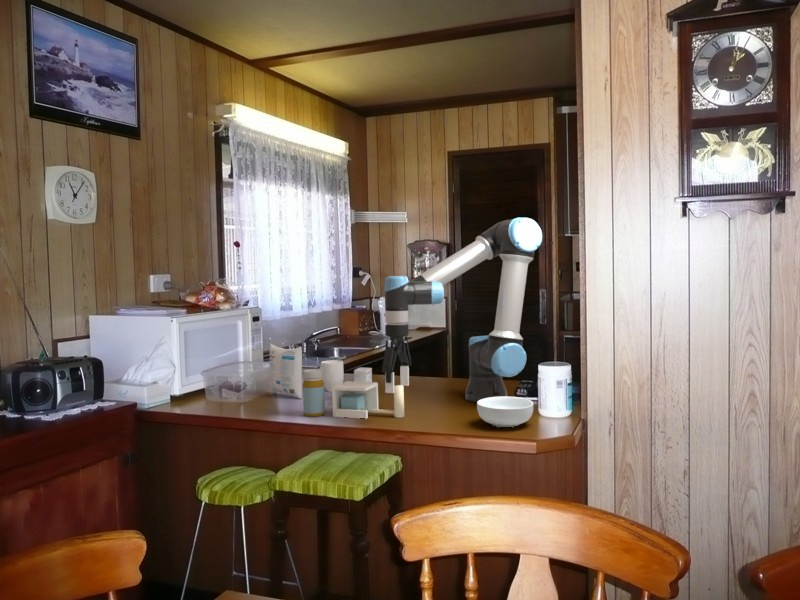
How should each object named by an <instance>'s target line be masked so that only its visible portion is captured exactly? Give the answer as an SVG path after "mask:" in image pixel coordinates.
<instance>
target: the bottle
mask: <svg viewBox="0 0 800 600" xmlns="http://www.w3.org/2000/svg"><path fill="white" fill-rule="evenodd" d="M302 400H303V402H302V403H303V404H302V405H303V406H302V407H303V415H304V416H305V417H307V418H317V417H322V416H324V414H325V411H326V409H325V407H326V406H325V404H326V403H325V385H324V383H323V380H322V370H321V369H319V368H311V369H305V370H303V381H302Z"/></svg>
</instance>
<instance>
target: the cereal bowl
mask: <svg viewBox="0 0 800 600" xmlns="http://www.w3.org/2000/svg"><path fill="white" fill-rule="evenodd" d="M476 409H477V413H478V416H479V417H480V418H481V419H482V420H483V421H484V422H485V423H488V424H491V425H492V426H493V427H495V426H496V428H500V427H512V428H515V427H514V426H517V427H518V426H520V425H521V424H524V423H526V422H527V421H529V420H530V419H531V417H532V416H533V413H534V402H533V401H532V400H530V399H528V398H524V397H519V396H518V397H517V396H508V395H507V396H501V397H489V398H484V399H481V400H479V401H478V402H476Z"/></svg>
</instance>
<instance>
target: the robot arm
mask: <svg viewBox="0 0 800 600" xmlns="http://www.w3.org/2000/svg"><path fill="white" fill-rule="evenodd" d="M542 242H543V232H542V229H541V227H540V226H539V224H538V222H536V221H535V220H534V219H533V218H529V217H516V218H511V219H505V220H501V221H499V222H497V223H495V224H494V225H493V226H491V227H489V228H488V229H487V230H485V231H483V232H482V233H481V234H479V235H477V236H476V237H475V241H473V242H472V243H469V244H467V245H466V246H464V247H463V248H462V249H460V250H458V251H456V252H455V253H453V254H452V255H449V256H448V257H447V258H445V259H443V260H442V261H440V262H439V263H437V264H435V265H433V266H432V267H431V268H429V269H427V270H426V271H424V272H422V273H421V274H419V275H418V276H416V277H414V278H412V279H411V280H409V278H408V276H406V275H390V276H386V277H385V280H384V314H383V316H384V317H385V318H384V320H385V323H386V324H385V326H384V331H385V333H384V334H385V336H386V337H389V338H390V339H389V340H387V339H386V340H385V349H384V355H383V362H382V368H381V372H382V373H384V375H385V376H384V378H385V379H384V381H385V384H384V385H385V386H384V387H385V390H384V393H385V394H394V386H395V372H394V368H395V363H396V361H397V356H398V358H399V362H400V364H401V365H400V366H399V368H400V369H399V371H400V373H399V374H400V376H399V377H400V379H399V380H400V384H399V385H403V386H405V387H406V386H407V387H409V385H410V368H409V367H410V366H412V359H411V358H412V357H411V354H410V347H409V341H408V336H409V324H407V323H409V306H414V305H417V306H418V305H419V306H420V305H422V306H423V305H425V306H427V305H431V306H434V305H441V304H442V303H443V300H444V298H445V288H444V286H445V285H446V284H448V283H449V282H452V281H453V280H455V279H456V278H458V277H460V276H461V275H463V274H464V273H466V272H467V271H469V270H471V269H472V268H474V267H476V266H477V265H479V264H481V263H482V262H484V261H486V260H492V259H494V258H496V257H500V259H501V261H502V266H501V274H500V281H499V282H500V283H499V288H498V289H499V290H498V295H497V297H498V298H497V303H496V304H497V305H496V312H495V319H494V320H495V321H494V329H493V330H492V331H491V332H490V333H489V334H488V335H478V336H471V337H469V340H468V355H469V357H468V359H469V360H468V361H469V362H468V364H469V379H468V383H467V387H466V389H465V391H464V393H465V396H464V397H465V400H466V401H469V402H475V403H477V402H478V401H479V400H481V399H484V398H489V397H501V396H508V391H507V388H506V384H505V382H504V379H503V378H505V377H506V378H511V377H515V376H517V375H518V374H519V373H521V372H522V370H523V369H524V368H525V366H526V363H527V353H526V351H525V349H524V348H523V342H524V337H522V335H521V334H520V331H521V330H520V329H521V323H522V322H521V321H522V315H523V314H522V313H523V306H524V298H525V290H526V284H527V276H528V269H529V268H528V267H529V264H530V263H531V262H532V261H534V258H535V257H534V256H535V251H536V250H538V248H539V247H540V246H541V244H542Z"/></svg>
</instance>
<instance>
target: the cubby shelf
mask: <svg viewBox="0 0 800 600" xmlns="http://www.w3.org/2000/svg"><path fill="white" fill-rule="evenodd" d="M347 394H361V395H365V409H379V382H375V381H372V382H354V380H352V381H349V380H346V381H343V383H341V384H339V385H336V386H334V387H333V390H332V392H331V399H332V402H331V403H332V417H333V418H344V417H346V419H347V417H348V419H349V418H350V419H360V418H365V419H364V420H367V419H369V416H368V415H369V414H368V413H369V412H368V410H351V409H341V397H343V396H345V395H347Z"/></svg>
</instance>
